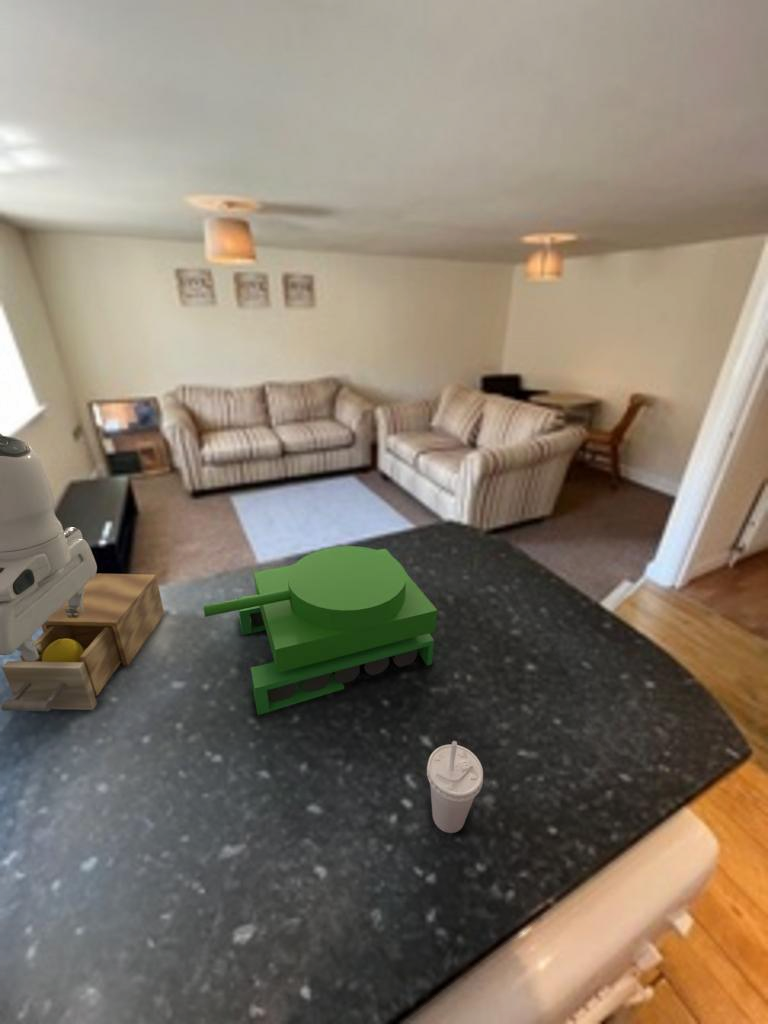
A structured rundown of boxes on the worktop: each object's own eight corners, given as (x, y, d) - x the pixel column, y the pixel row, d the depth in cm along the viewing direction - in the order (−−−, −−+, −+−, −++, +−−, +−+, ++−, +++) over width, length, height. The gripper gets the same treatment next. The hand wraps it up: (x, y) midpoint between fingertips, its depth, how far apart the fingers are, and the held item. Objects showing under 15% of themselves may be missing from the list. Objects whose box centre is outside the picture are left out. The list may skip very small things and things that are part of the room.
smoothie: (414, 803, 57) (421, 724, 51) (459, 789, 59) (471, 712, 53) (434, 857, 51) (444, 776, 46) (483, 840, 53) (500, 760, 47)
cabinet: (129, 670, 76) (116, 622, 72) (56, 669, 76) (39, 621, 71) (165, 617, 89) (156, 574, 84) (103, 616, 88) (91, 573, 84)
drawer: (74, 736, 63) (58, 693, 60) (-5, 735, 63) (-25, 691, 59) (135, 650, 79) (126, 611, 75) (73, 649, 79) (60, 610, 75)
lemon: (66, 699, 67) (50, 657, 64) (42, 687, 69) (26, 646, 66) (100, 674, 72) (87, 634, 69) (77, 664, 74) (64, 625, 71)
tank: (211, 629, 86) (199, 556, 79) (379, 593, 98) (382, 527, 92) (221, 732, 65) (206, 644, 59) (432, 669, 78) (440, 591, 71)
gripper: (56, 521, 71) (78, 594, 76) (-60, 597, 52) (-20, 686, 58) (96, 522, 71) (115, 594, 76) (-5, 598, 52) (30, 687, 58)
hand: (56, 635), depth 67 cm, fingers open, 8 cm apart
